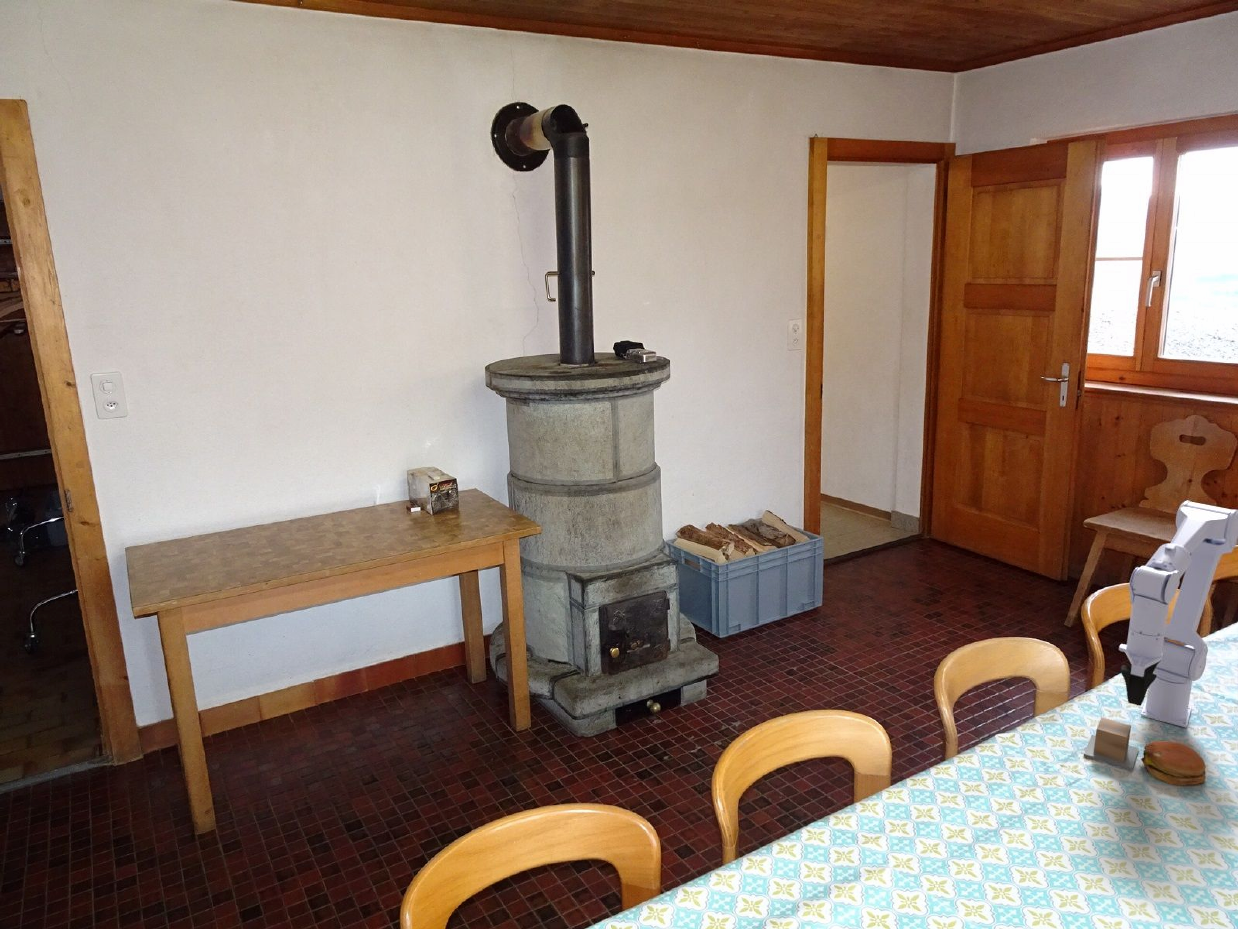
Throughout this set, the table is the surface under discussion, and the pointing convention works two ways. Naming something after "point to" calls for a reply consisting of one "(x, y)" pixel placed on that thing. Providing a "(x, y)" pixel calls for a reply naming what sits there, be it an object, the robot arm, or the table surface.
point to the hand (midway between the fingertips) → (1137, 695)
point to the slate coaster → (1125, 764)
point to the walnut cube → (1112, 739)
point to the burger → (1174, 763)
